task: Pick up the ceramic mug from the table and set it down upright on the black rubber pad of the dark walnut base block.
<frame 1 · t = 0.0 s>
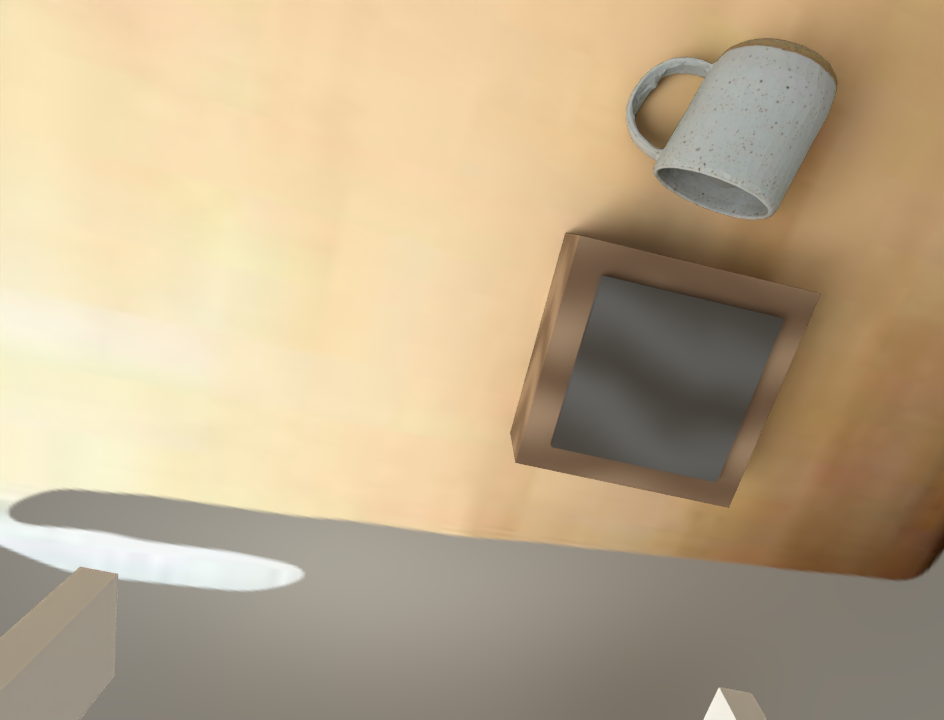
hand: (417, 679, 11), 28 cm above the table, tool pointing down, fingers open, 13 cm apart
walnut base: (636, 361, 38), on the table
ceramic mug: (693, 138, 34), on the table
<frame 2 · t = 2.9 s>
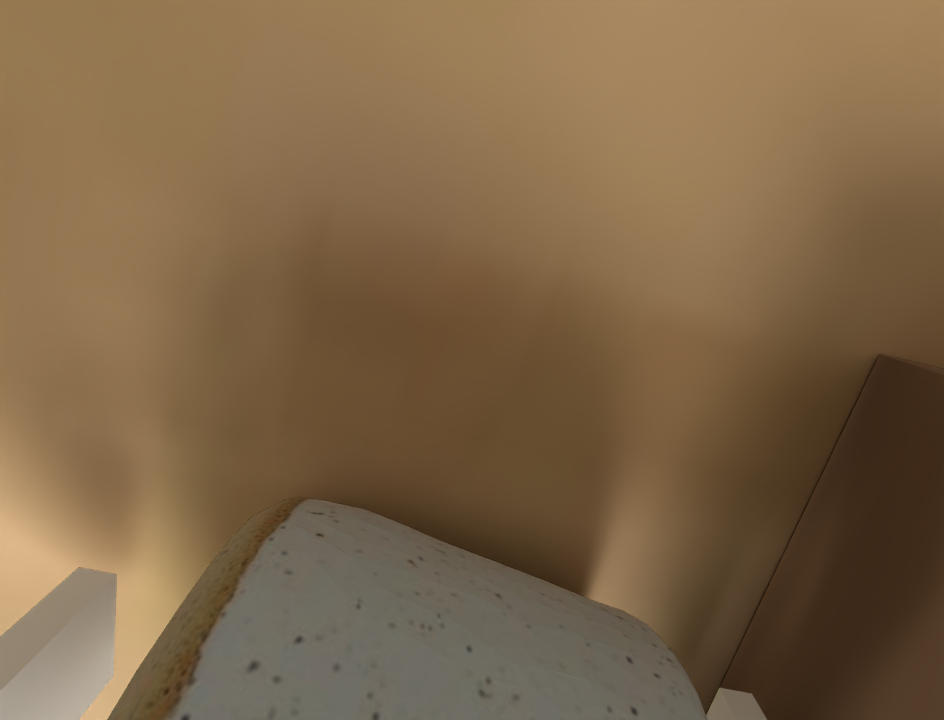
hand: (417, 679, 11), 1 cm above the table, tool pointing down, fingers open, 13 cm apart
ceramic mug: (407, 640, 13), on the table
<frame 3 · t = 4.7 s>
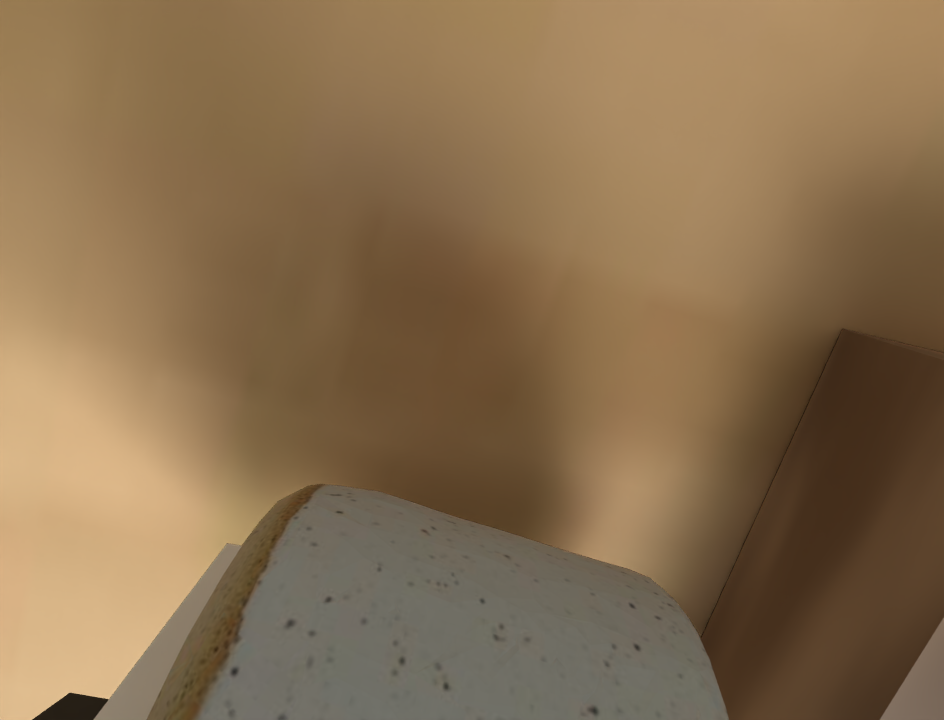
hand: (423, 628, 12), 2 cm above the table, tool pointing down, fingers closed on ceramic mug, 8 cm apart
ceramic mug: (429, 618, 13), point 1 cm above the table, touching gripper
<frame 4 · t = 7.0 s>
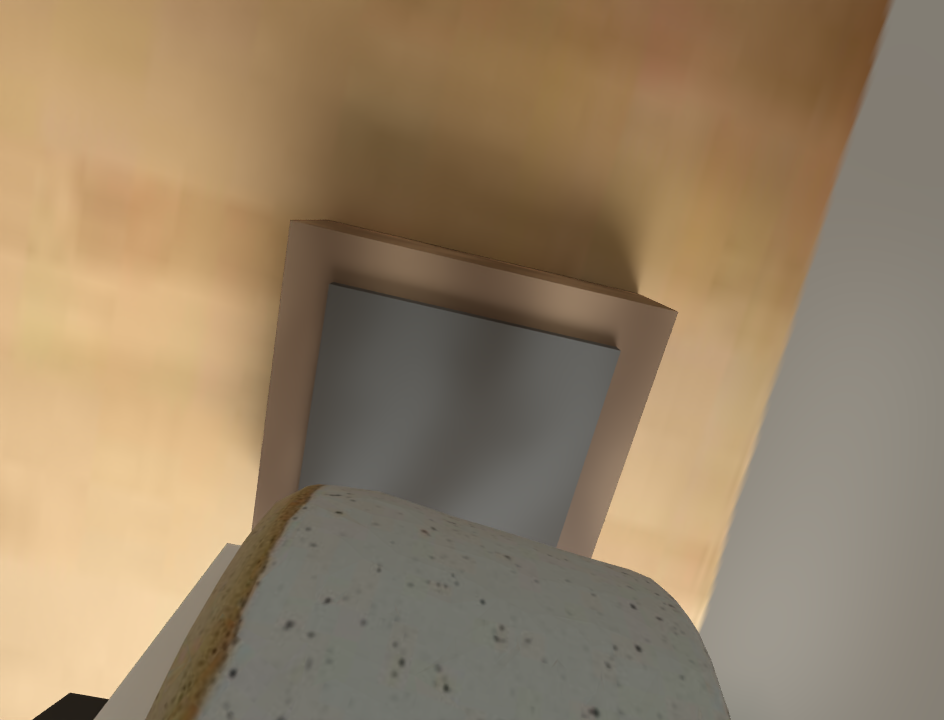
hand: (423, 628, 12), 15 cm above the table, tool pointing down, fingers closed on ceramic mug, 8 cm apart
walnut base: (451, 403, 27), on the table
ceramic mug: (429, 618, 13), point 14 cm above the table, touching gripper
when the fingers open (8 cm above the table, at t = 9.1 s): ceramic mug drops 1 cm, resting on walnut base.
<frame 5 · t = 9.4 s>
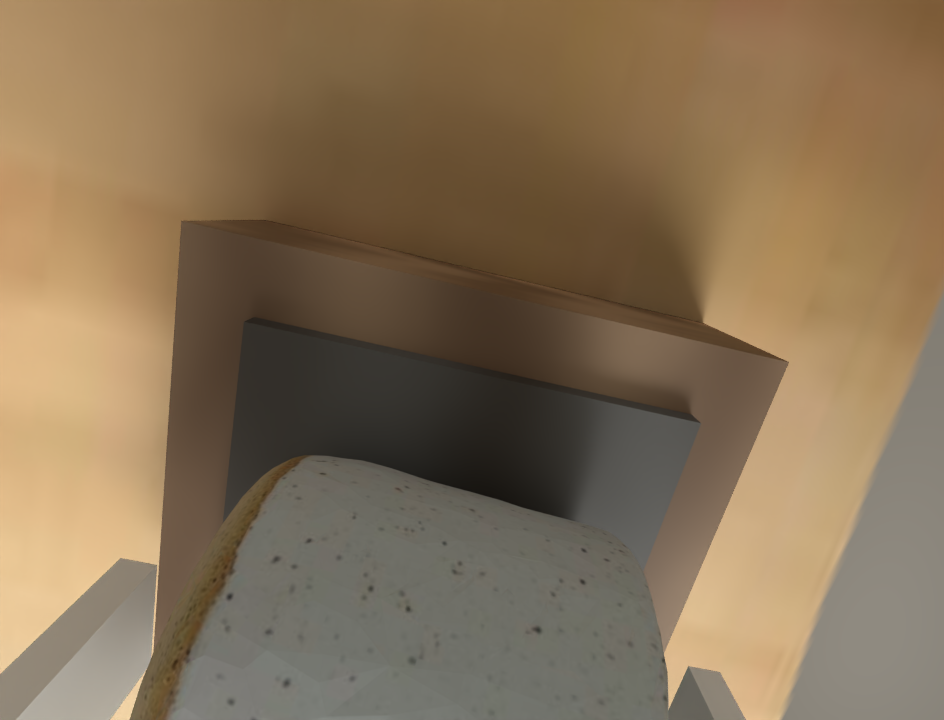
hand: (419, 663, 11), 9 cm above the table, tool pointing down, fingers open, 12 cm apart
walnut base: (442, 470, 20), on the table
ceramic mug: (421, 582, 15), point 5 cm above the table, touching walnut base
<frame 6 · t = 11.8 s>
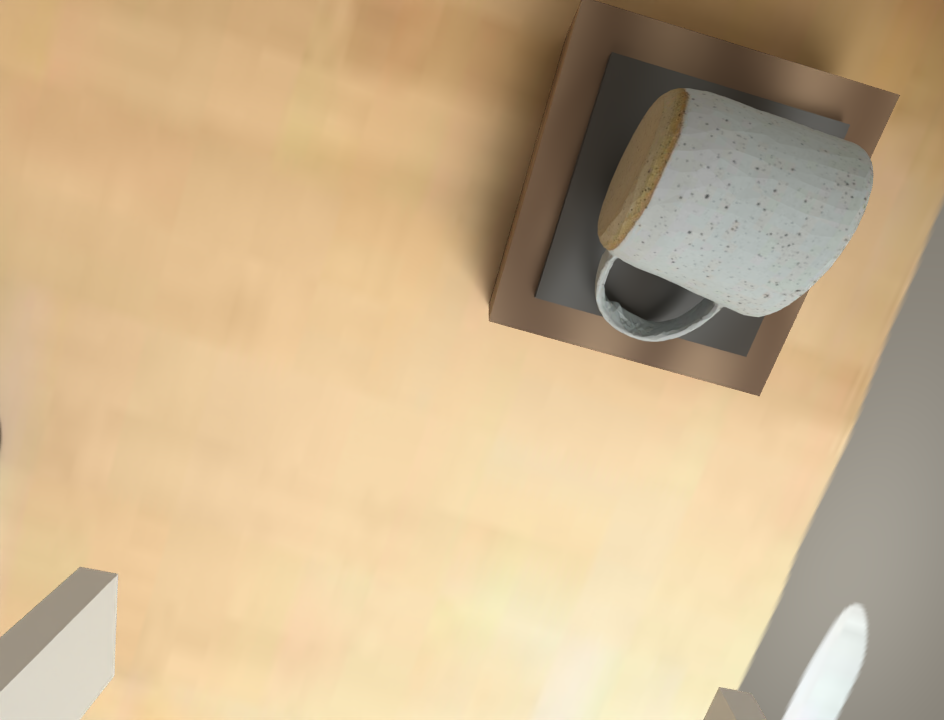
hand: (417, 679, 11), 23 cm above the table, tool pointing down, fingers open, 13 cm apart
walnut base: (649, 217, 30), on the table
ceramic mug: (672, 233, 25), point 5 cm above the table, touching walnut base
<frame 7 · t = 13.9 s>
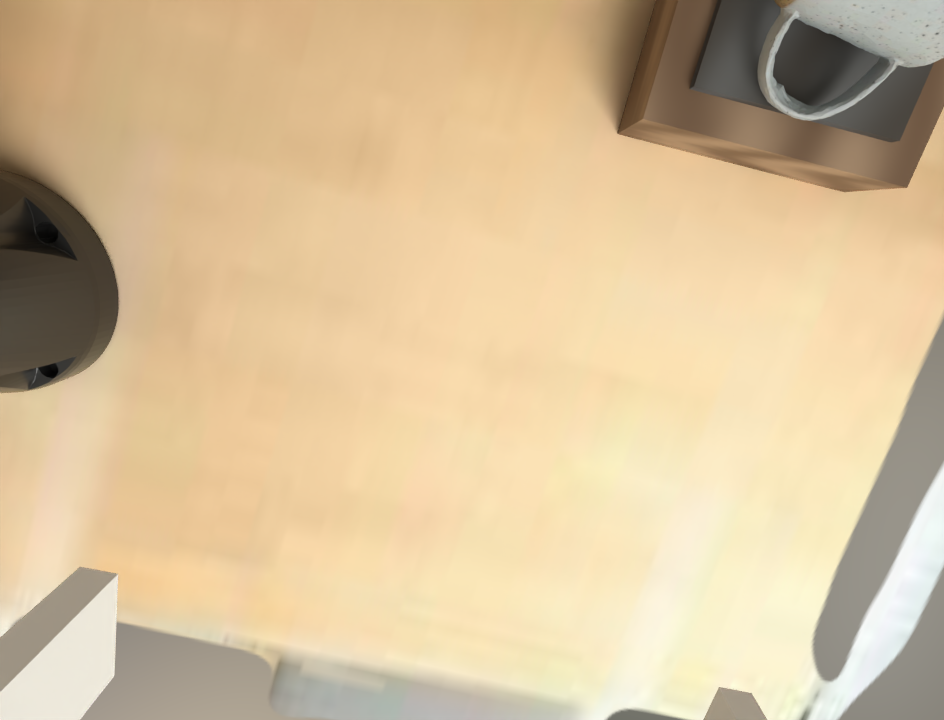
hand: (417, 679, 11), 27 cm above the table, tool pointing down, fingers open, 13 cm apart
walnut base: (780, 28, 30), on the table
ceramic mug: (830, 13, 26), point 5 cm above the table, touching walnut base
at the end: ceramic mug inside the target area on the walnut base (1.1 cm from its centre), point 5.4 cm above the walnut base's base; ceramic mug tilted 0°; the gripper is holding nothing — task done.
